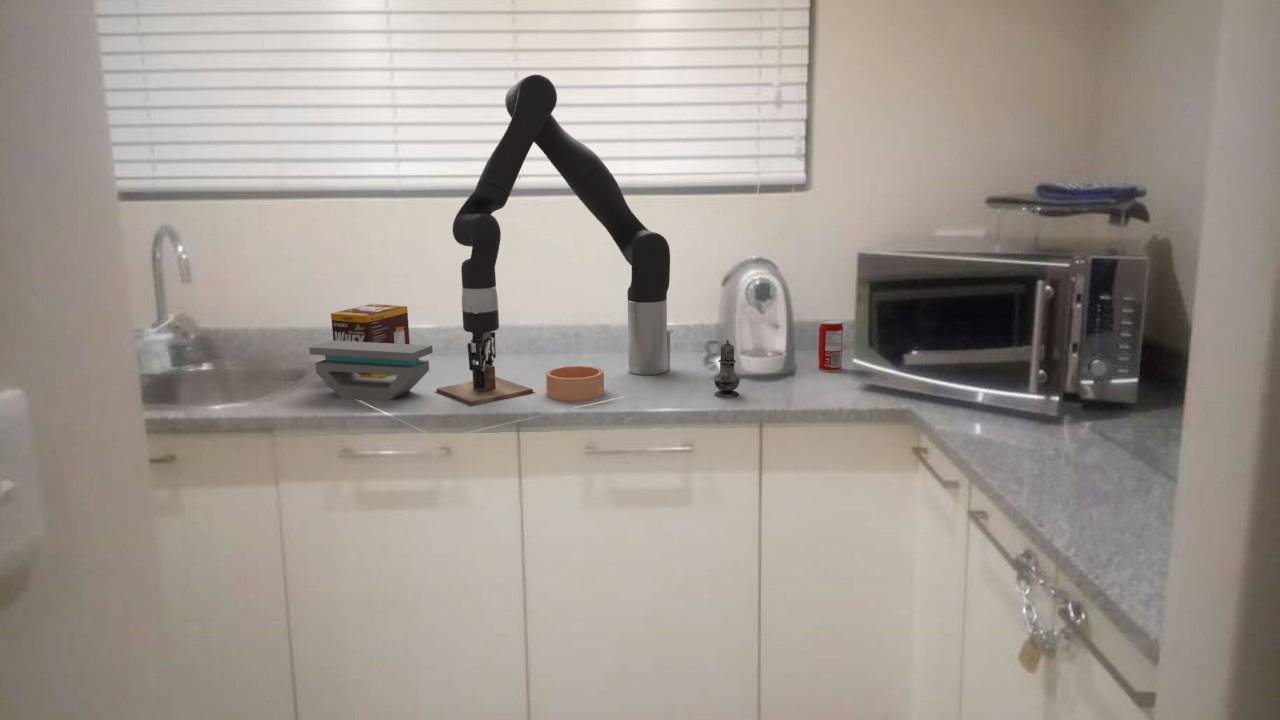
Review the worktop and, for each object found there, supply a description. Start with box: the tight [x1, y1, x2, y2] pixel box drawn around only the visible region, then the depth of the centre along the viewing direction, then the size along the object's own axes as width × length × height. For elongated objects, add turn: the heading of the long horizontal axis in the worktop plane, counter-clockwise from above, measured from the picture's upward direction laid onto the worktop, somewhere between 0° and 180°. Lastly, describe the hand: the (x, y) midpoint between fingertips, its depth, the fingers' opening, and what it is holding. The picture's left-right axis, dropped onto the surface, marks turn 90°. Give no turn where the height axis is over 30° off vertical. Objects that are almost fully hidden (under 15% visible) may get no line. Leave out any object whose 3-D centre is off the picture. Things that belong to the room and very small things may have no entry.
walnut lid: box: [436, 364, 534, 406], centre depth 185 cm, size 15×15×6 cm
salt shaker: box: [712, 339, 742, 399], centre depth 182 cm, size 6×6×12 cm
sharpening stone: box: [308, 339, 433, 401], centre depth 184 cm, size 25×8×11 cm, turn 74°
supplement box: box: [330, 303, 411, 379], centre depth 205 cm, size 10×15×16 cm
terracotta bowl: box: [545, 365, 605, 402], centre depth 183 cm, size 12×12×5 cm
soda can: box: [817, 319, 844, 373], centre depth 203 cm, size 6×6×12 cm
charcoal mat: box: [434, 390, 537, 407], centre depth 185 cm, size 16×16×1 cm
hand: (484, 384), depth 185 cm, fingers open, 6 cm apart
